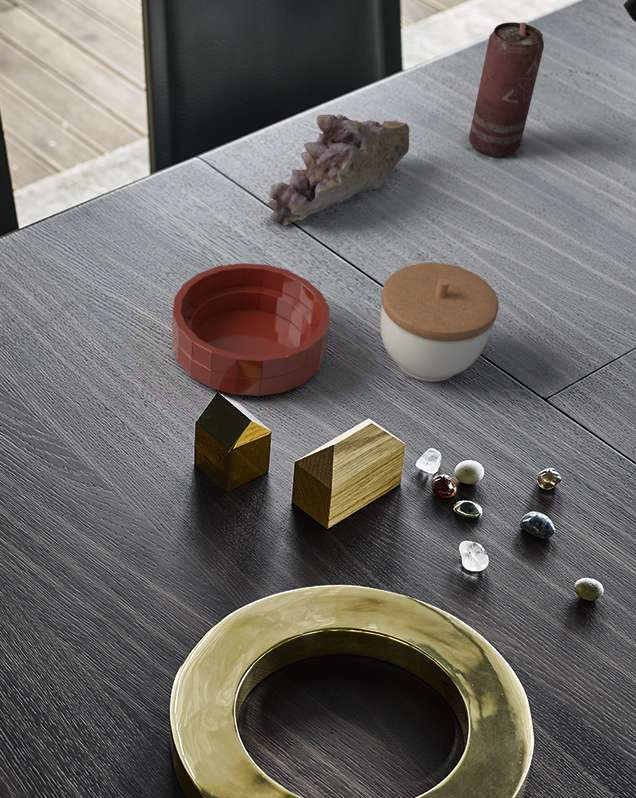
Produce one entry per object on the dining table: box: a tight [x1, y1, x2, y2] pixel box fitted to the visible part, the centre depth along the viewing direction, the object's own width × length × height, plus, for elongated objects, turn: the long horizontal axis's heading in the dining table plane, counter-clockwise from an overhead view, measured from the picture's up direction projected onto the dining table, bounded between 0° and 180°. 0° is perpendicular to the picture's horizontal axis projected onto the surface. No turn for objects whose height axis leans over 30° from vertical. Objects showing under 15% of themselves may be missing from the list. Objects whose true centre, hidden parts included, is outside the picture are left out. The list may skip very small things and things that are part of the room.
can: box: [468, 21, 545, 158], centre depth 144 cm, size 6×6×14 cm
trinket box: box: [379, 262, 500, 383], centre depth 117 cm, size 11×11×9 cm
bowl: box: [171, 262, 331, 397], centre depth 119 cm, size 15×15×5 cm
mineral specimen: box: [267, 113, 411, 226], centre depth 138 cm, size 20×10×10 cm
